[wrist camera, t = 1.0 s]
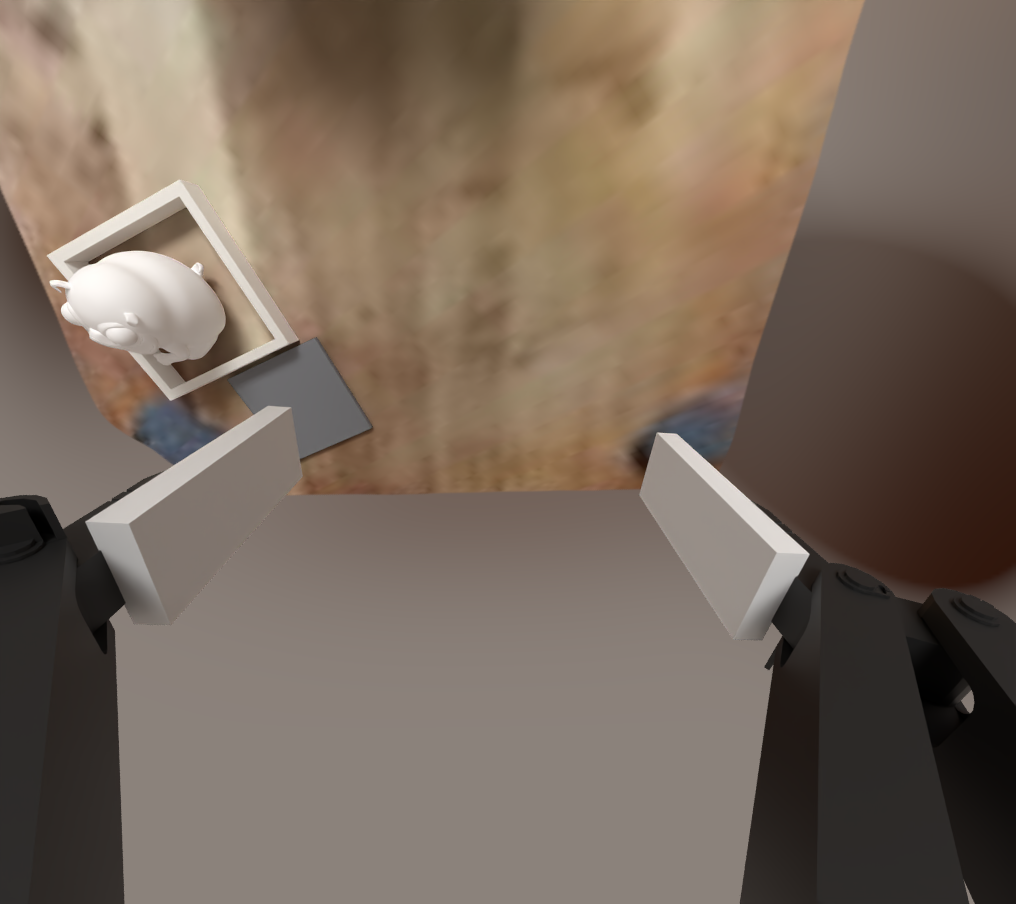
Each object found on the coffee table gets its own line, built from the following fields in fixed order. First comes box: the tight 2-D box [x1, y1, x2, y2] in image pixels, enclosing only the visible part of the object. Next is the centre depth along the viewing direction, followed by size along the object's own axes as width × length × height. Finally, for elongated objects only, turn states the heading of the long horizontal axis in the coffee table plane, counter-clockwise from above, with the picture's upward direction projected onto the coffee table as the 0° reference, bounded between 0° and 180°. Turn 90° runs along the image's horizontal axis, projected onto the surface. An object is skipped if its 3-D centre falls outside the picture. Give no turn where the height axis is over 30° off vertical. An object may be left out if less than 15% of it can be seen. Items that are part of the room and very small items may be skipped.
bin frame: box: [47, 180, 299, 401], centre depth 40 cm, size 16×16×2 cm
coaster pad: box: [227, 337, 373, 459], centre depth 47 cm, size 12×12×1 cm
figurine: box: [50, 251, 226, 365], centre depth 36 cm, size 10×10×12 cm
